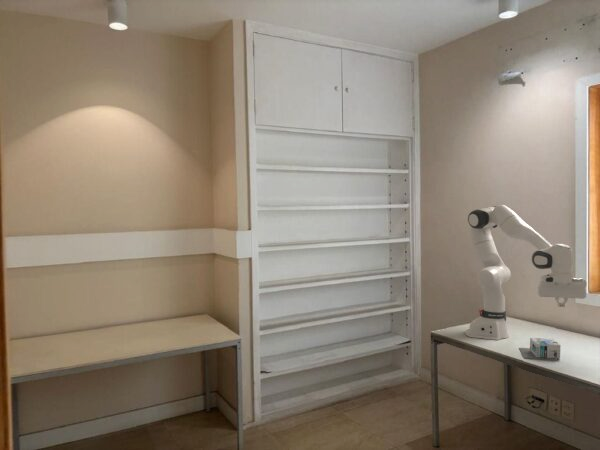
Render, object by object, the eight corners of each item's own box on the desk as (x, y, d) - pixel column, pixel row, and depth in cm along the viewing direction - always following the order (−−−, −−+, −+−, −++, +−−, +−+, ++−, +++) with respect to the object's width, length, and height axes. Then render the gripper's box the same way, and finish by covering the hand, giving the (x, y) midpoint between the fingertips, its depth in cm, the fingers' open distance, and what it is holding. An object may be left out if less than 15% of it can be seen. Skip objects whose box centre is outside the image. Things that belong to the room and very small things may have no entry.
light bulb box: (560, 344, 221) (536, 343, 223) (560, 358, 221) (536, 357, 223) (553, 338, 231) (529, 337, 233) (552, 351, 232) (529, 350, 234)
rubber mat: (523, 358, 224) (523, 357, 224) (518, 348, 239) (518, 347, 239) (556, 360, 220) (556, 359, 220) (549, 350, 235) (549, 349, 235)
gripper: (584, 277, 224) (583, 306, 225) (537, 276, 230) (536, 304, 231) (588, 280, 218) (587, 309, 219) (539, 278, 224) (539, 307, 225)
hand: (561, 306), depth 225 cm, fingers closed
